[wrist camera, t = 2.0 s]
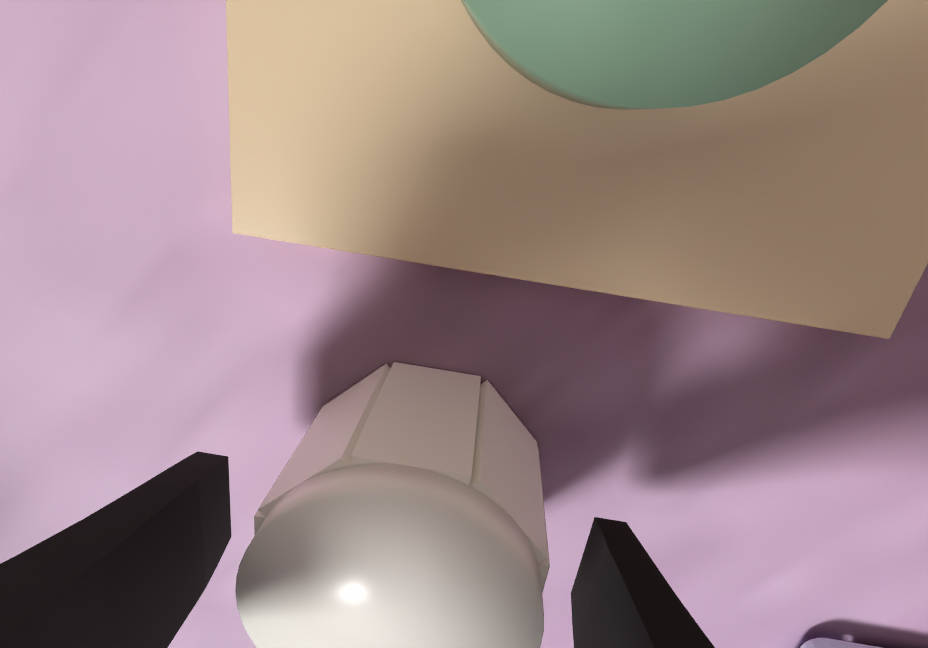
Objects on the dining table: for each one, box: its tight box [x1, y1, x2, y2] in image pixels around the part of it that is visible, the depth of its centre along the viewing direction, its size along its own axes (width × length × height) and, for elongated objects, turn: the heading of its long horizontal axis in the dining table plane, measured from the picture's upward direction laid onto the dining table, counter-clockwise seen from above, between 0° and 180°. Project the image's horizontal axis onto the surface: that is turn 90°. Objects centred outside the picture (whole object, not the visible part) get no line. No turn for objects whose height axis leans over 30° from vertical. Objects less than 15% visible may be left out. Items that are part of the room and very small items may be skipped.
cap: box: [236, 362, 550, 648], centre depth 10 cm, size 5×5×4 cm
